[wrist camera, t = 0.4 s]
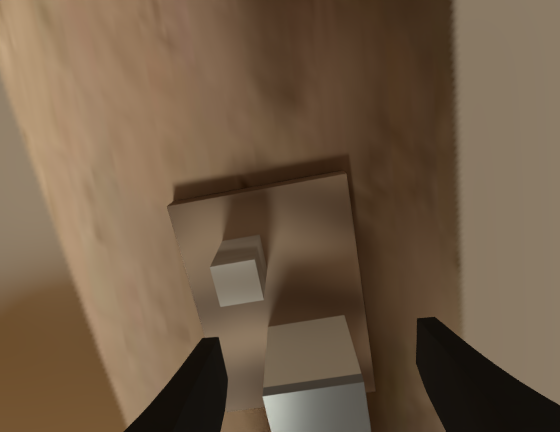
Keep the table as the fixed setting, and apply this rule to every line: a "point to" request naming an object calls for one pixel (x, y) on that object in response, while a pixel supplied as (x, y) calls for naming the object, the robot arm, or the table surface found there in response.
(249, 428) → the table surface
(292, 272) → the stand
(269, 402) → the matte gray cube
